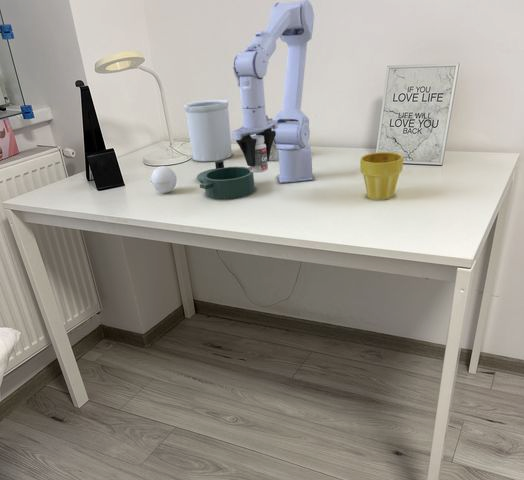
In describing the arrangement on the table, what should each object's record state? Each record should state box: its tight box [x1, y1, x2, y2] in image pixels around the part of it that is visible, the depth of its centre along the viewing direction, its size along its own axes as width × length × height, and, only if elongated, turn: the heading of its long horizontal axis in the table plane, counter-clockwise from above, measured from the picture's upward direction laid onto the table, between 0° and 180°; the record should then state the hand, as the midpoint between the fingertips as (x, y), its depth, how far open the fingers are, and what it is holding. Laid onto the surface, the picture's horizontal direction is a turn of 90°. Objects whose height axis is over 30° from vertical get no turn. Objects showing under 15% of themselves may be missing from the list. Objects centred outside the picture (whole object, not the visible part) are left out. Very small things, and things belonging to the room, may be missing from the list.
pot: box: [199, 166, 256, 201], centre depth 151 cm, size 14×19×5 cm
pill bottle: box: [249, 134, 269, 174], centre depth 139 cm, size 5×5×8 cm
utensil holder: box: [183, 99, 233, 162], centre depth 185 cm, size 15×15×18 cm
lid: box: [196, 159, 225, 183], centre depth 165 cm, size 15×15×5 cm
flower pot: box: [359, 151, 404, 201], centre depth 136 cm, size 10×10×10 cm
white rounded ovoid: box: [150, 165, 178, 194], centre depth 154 cm, size 10×7×7 cm
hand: (258, 163), depth 140 cm, fingers closed on pill bottle, 5 cm apart
